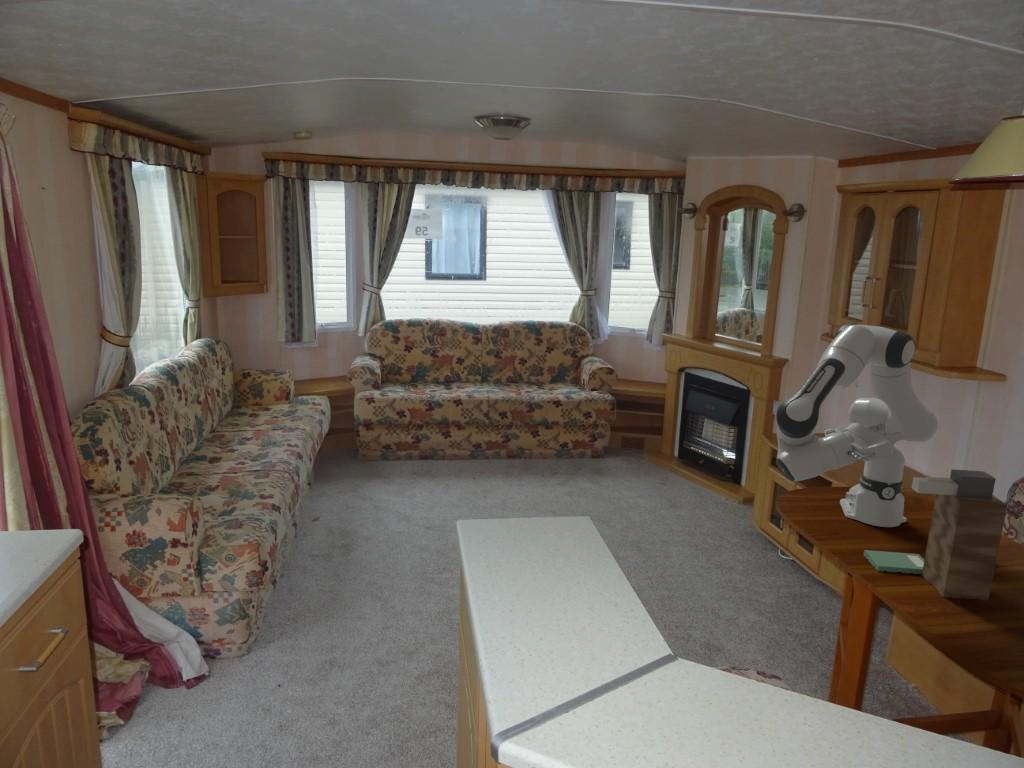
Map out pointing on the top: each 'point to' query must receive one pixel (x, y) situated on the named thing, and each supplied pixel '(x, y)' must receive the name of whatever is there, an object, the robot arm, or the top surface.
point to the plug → (958, 484)
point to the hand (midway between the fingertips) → (892, 430)
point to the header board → (895, 561)
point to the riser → (963, 545)
